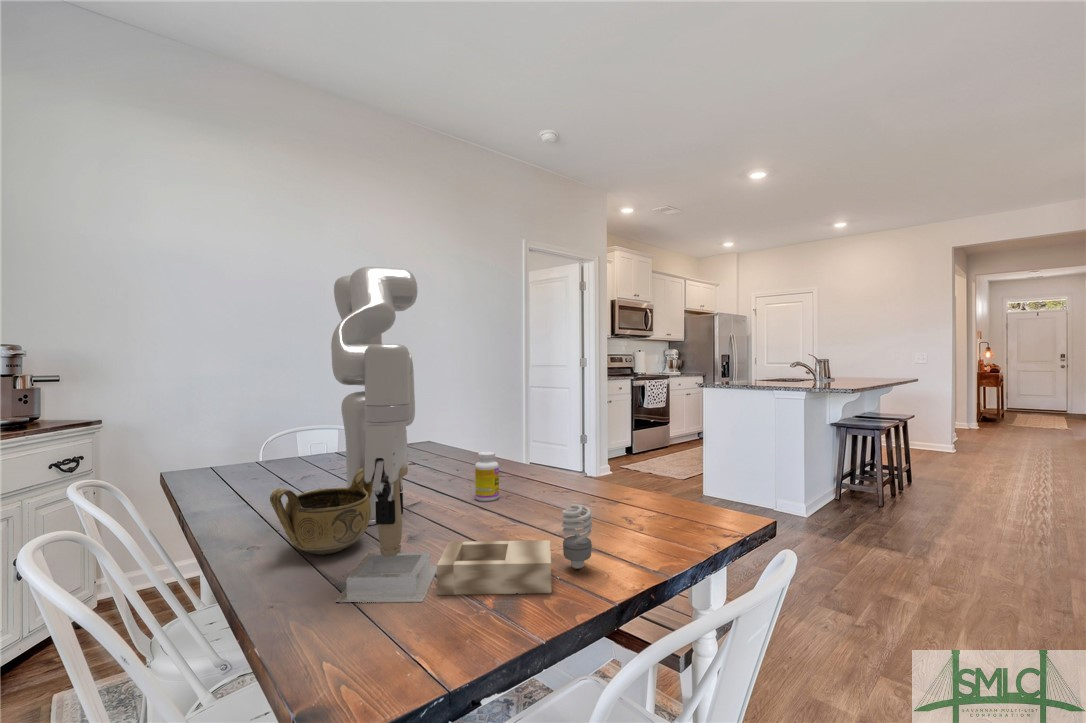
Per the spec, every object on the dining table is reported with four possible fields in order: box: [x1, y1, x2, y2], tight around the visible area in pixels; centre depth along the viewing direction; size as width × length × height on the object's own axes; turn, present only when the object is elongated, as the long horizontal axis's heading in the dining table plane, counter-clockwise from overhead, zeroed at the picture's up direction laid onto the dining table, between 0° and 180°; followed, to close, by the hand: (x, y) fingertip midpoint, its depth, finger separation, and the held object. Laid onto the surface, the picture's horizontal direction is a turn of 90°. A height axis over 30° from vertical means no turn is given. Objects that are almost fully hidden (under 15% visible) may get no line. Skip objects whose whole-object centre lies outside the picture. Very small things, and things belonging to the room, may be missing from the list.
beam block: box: [436, 539, 552, 596], centre depth 88 cm, size 19×10×5 cm, turn 90°
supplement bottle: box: [474, 451, 500, 502], centre depth 140 cm, size 7×7×13 cm
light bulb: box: [561, 503, 593, 570], centre depth 92 cm, size 6×6×12 cm
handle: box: [373, 466, 409, 557], centre depth 87 cm, size 5×6×15 cm
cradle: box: [335, 551, 437, 604], centre depth 87 cm, size 14×13×4 cm
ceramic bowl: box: [269, 468, 373, 556], centre depth 104 cm, size 22×17×15 cm
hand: (389, 518), depth 87 cm, fingers closed on handle, 3 cm apart
